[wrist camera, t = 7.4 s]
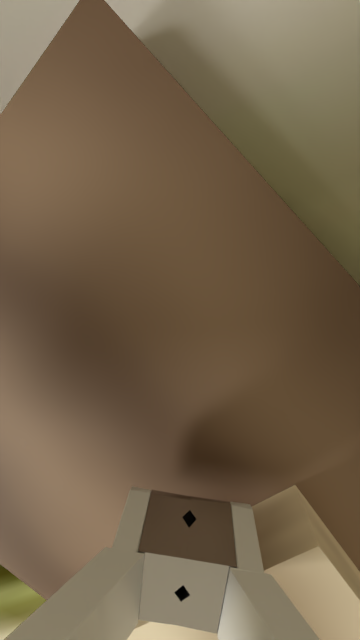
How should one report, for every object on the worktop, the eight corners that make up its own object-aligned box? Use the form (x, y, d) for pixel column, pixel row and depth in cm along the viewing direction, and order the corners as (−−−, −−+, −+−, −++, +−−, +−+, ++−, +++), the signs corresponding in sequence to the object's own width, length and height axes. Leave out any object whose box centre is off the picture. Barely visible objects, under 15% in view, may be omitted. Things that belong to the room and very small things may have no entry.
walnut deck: (174, 629, 13) (169, 696, 11) (-132, 378, 11) (-202, 406, 9) (473, 439, 10) (538, 486, 8) (117, 47, 8) (90, -16, 6)
